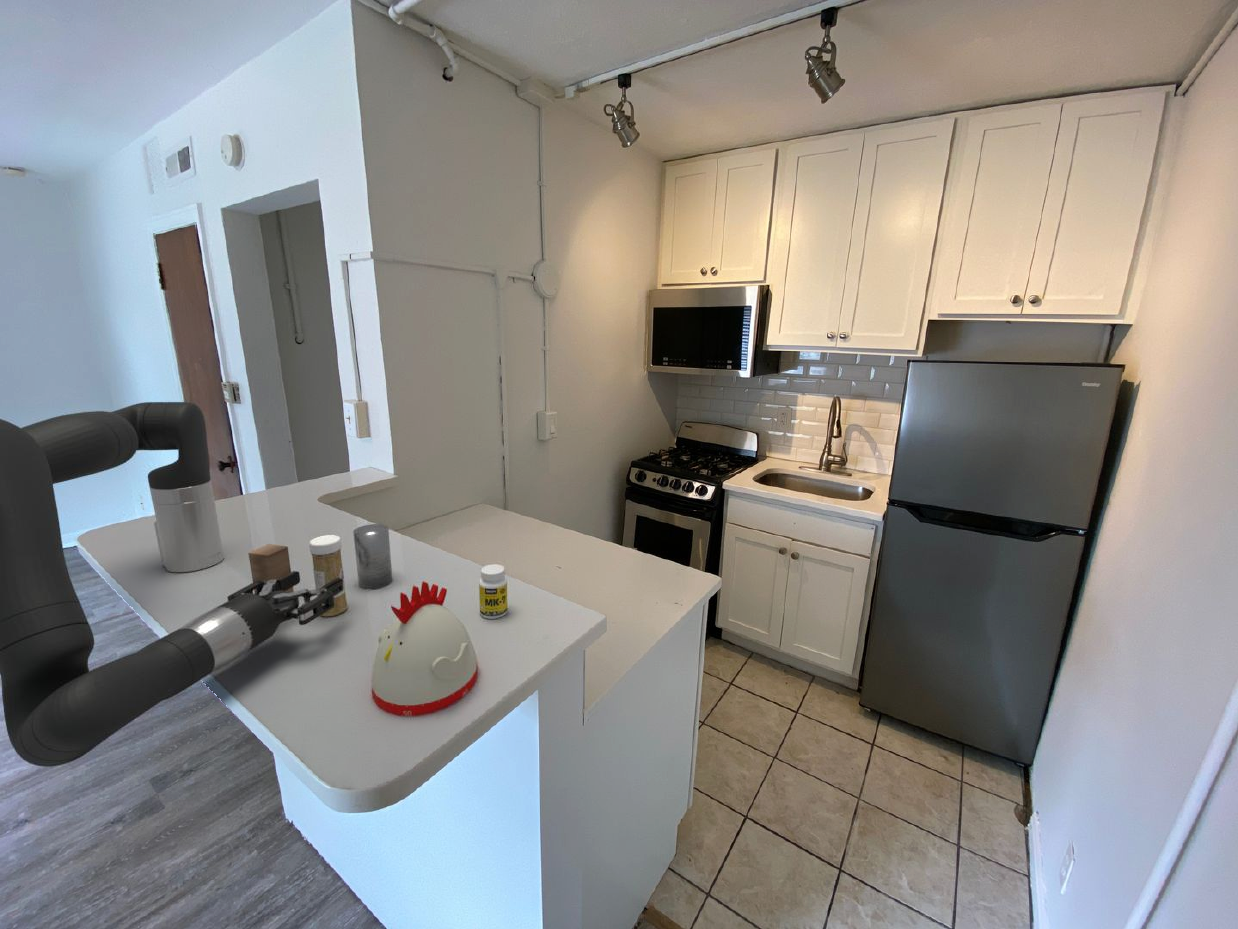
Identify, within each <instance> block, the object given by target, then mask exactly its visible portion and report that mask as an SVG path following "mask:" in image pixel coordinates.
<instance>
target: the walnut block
mask: <svg viewBox="0 0 1238 929" xmlns="http://www.w3.org/2000/svg"><path fill="white" fill-rule="evenodd" d="M248 560H249V566H250V572H251V579H252V583H253V582H255V581H258V580H264V583H267V582H268V581H269V580H277V579H279V578H281V577H283V576H285V575H287V574H289V573H291V572H292V568H291V561H290V553H289V547H288V546H285V545H279V544H278V545H277V544H271V543H268V544H266V545H263V546H261V547H259V548H256V549H254V550H252V551H250V552H248ZM285 592H295V591H294V586H293V587H291V588H290V589H288V590H286V591H285ZM253 593H254V594H255V593H256V589H254V590H253Z"/></svg>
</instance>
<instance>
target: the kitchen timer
mask: <svg viewBox="0 0 1238 929" xmlns="http://www.w3.org/2000/svg"><path fill="white" fill-rule="evenodd" d="M411 589H412V590H411V598H410V599H409V597H408V596H407V594H406V593H404V592H400V593H399V599H400V600H399V602H400V607H399V608H397V607H395V606H393V605H390V609H391V611H392V612H393V613H394V615H395V617H394V619H393V620H392V621H391V622H390V624H389V625H388V627H386V628H384V629H383V630H382V632H381V633H380V635H379V637H378V647H377V650H376V654H375V657H374V659H373V660H374V661H373V665H372V672H371V693H372V699H373V701H374V702H375V704H376V706H377V707H378V708H379V709H381V710H383V711H384V712H385V713H389V714H392V715H396V716H400V717H401V716H404V717H405V715H406V717H408V716H410V717H411V716H412V717H416V716H422V715H426V714H432V713H435V711H436V712H438V711H440V710H443V709H446V708H449V707H450V706H452V705H454V704H456V703H457V702H459V701H460V700H461V698H462V699H463V698H464V697H465V696H466V695H467V694H468V693H469V692H470V691H471V690H472V689H473V687H474V685H475V684H474V683H476V682H477V678H478V671H479V670H478V659H477V654H476V651H475V649H474V645H473V643H472V639H471V638H470V634H469V632H468V630H467V628H466V627H465V625H464V624H463V622H462V620H460V619H459V617H457V615H456V614H455V613H454V612H453V611H452V610H450V609H449V608H448V607H446V606H444V602H445V600H446V596H447V594H448V589H447V588H445V587H441V589H440V591H439V585H437V584H434V583H433V584H432V585H431V588H430V586H429V583H428V582H426V581H424V580H423V581H422V582H421V587H420V590H419V587H418V586H416V585H413V586H412V588H411ZM466 693H467V694H466ZM465 694H466V695H465ZM464 695H465V696H464ZM463 696H464V697H463ZM458 700H459V701H458Z"/></svg>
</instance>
